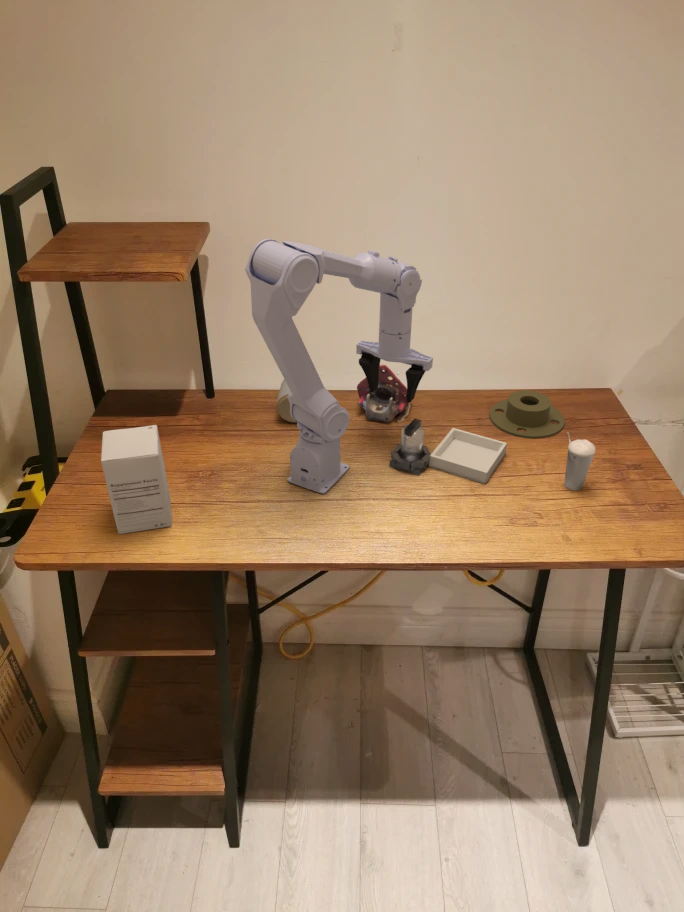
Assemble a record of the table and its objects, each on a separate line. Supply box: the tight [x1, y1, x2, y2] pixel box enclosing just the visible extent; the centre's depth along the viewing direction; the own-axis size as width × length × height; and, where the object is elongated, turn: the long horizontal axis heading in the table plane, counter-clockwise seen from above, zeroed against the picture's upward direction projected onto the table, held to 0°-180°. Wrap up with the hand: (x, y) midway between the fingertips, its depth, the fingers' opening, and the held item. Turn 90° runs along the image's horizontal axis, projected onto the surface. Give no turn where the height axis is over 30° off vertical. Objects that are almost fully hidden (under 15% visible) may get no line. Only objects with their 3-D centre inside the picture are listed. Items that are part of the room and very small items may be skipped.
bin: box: [428, 427, 508, 485], centre depth 135 cm, size 11×11×2 cm
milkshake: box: [563, 431, 596, 492], centre depth 126 cm, size 4×5×10 cm
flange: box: [488, 389, 566, 440], centre depth 147 cm, size 5×15×15 cm
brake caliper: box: [356, 364, 411, 423], centre depth 149 cm, size 11×11×12 cm
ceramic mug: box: [276, 378, 297, 424], centre depth 147 cm, size 11×8×8 cm
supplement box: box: [100, 424, 173, 535], centre depth 118 cm, size 9×9×15 cm
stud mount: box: [388, 443, 432, 476], centre depth 134 cm, size 7×7×2 cm
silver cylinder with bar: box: [400, 418, 425, 461], centre depth 132 cm, size 4×4×7 cm
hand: (391, 394), depth 136 cm, fingers open, 7 cm apart
